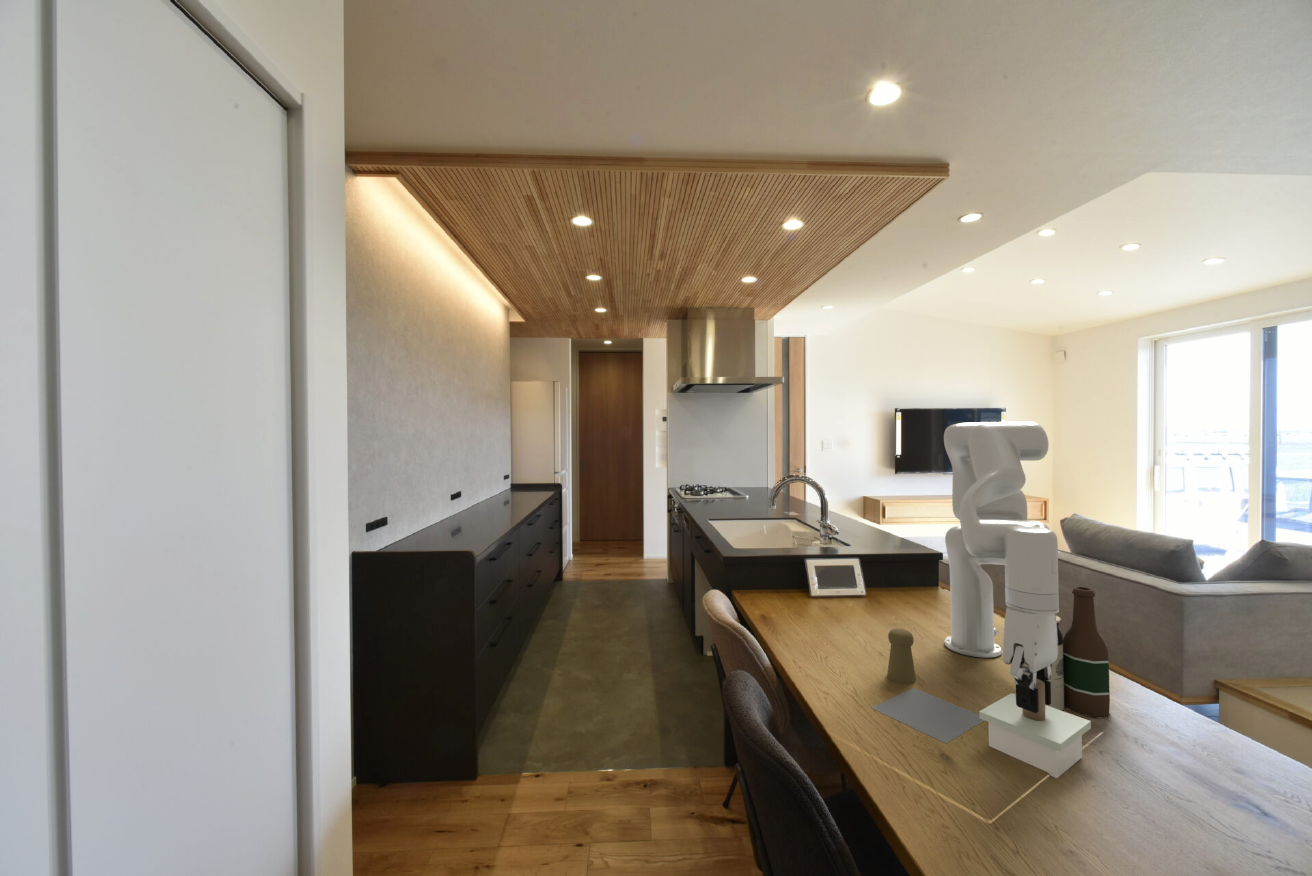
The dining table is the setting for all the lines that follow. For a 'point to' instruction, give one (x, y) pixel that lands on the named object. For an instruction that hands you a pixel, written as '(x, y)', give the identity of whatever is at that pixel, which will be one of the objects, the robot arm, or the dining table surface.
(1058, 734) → the lid
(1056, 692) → the travel mug
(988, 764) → the dining table surface
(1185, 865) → the dining table surface
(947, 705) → the mat
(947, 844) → the dining table surface
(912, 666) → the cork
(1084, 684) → the beer bottle
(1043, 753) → the white open storage bin
